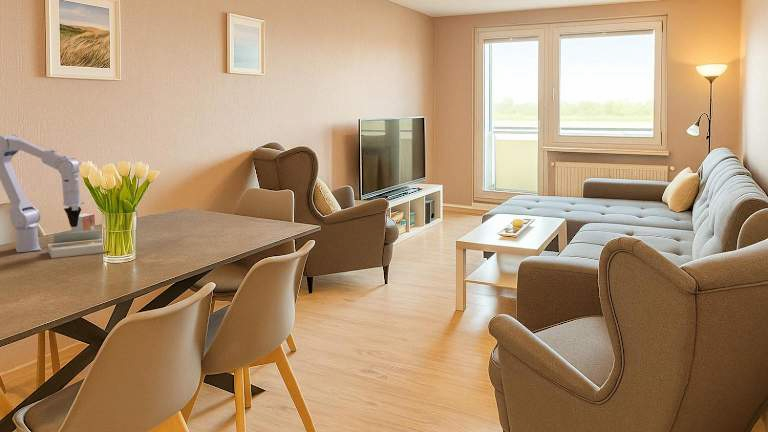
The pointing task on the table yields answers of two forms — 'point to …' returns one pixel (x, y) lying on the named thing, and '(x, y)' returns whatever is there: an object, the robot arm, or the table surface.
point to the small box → (85, 223)
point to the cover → (76, 236)
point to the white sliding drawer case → (75, 248)
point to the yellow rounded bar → (80, 243)
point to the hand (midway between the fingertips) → (73, 226)
